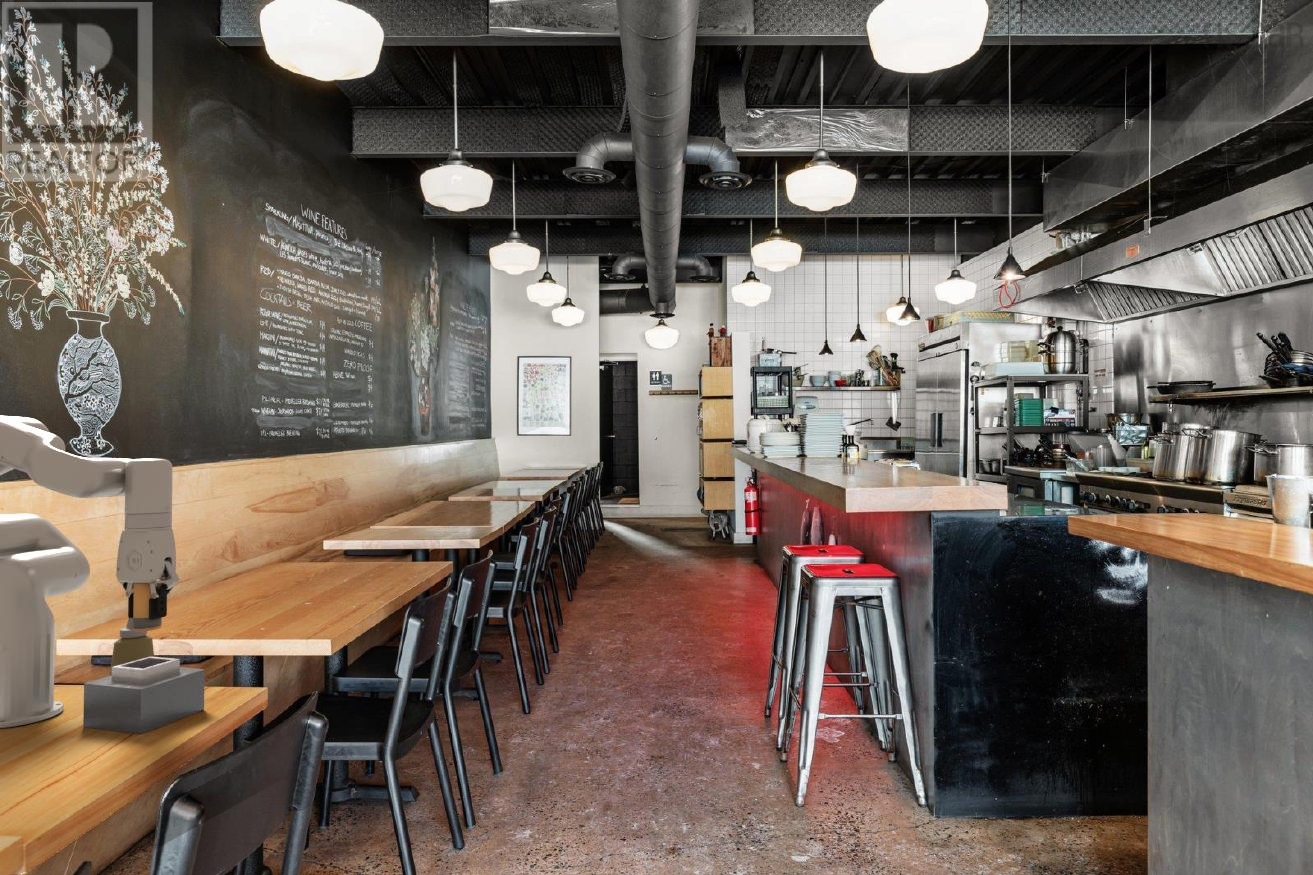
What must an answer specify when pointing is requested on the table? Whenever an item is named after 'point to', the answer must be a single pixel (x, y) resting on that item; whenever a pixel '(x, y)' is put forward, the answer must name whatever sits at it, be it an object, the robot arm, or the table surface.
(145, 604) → the orange cylinder
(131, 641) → the squeeze bottle
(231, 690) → the table surface
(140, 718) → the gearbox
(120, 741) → the table surface
